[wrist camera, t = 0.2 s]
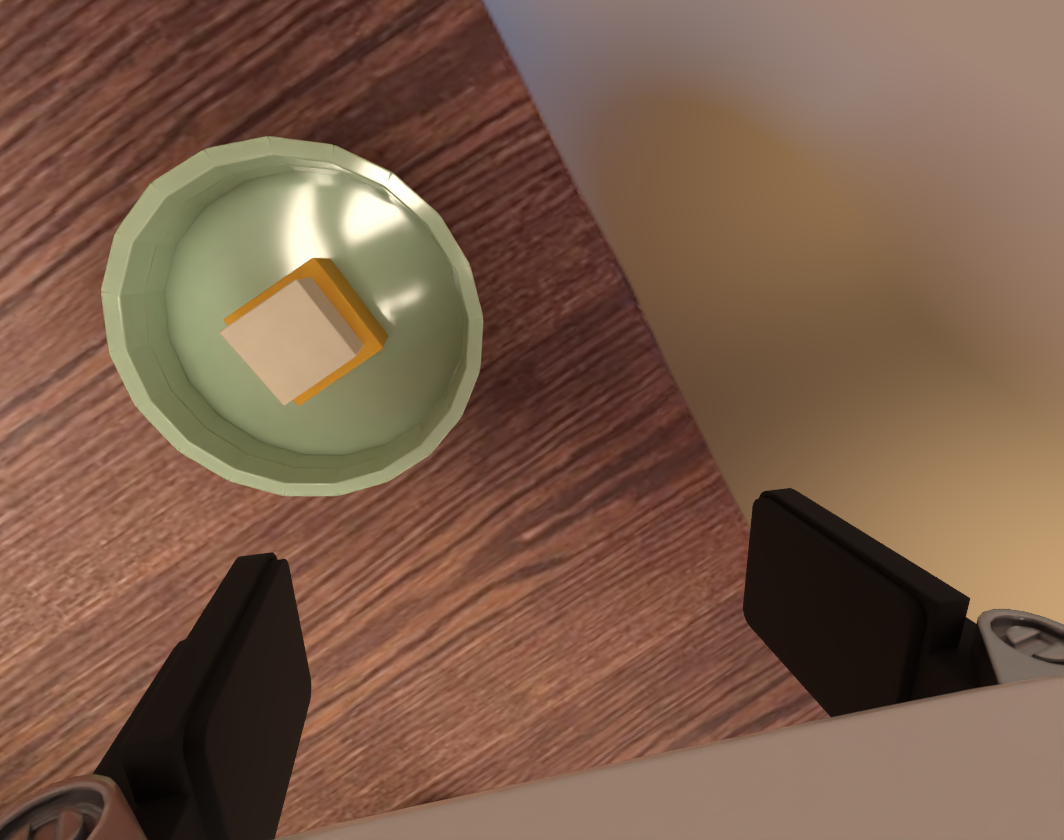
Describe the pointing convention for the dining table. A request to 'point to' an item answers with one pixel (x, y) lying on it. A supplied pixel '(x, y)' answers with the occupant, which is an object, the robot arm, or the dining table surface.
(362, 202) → the bowl
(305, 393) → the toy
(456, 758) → the dining table surface
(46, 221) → the dining table surface
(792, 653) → the robot arm
